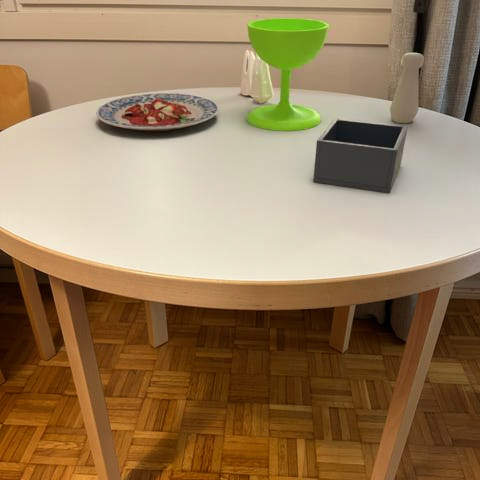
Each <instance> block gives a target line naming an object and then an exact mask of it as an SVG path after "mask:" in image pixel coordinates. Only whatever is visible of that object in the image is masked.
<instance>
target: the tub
mask: <svg viewBox="0 0 480 480" xmlns="http://www.w3.org/2000/svg"><path fill="white" fill-rule="evenodd" d="M408 128H409V127H408V126H407V125H398V124H389V123H380V122H371V121H361V120H352V119H343V118H334V119H333V120H332V121H331V123H330V124H329V125H328V126H327V127H326V129H325V130H324V131H323V132H322V134H321V135H320V136H319V137H318V139H317V140H316V147H315V157H314V169H313V181H312V182H313V183H318V184H325V185H332V186H339V187H344V188H345V187H346V188H352V189H359V190H365V191H373V192H380V193H385V194H386V193H387V194H391V191H392V189H393V186H394V183H395V181H396V179H397V176H398V173H399V171H398V170H400V168H401V166H400V165H402V160H403V155H404V148H405V144H406V138H407V133H408Z"/></svg>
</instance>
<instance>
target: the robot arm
mask: <svg viewBox="0 0 480 480" xmlns="http://www.w3.org/2000/svg"><path fill="white" fill-rule="evenodd" d="M431 1H432V0H414V3H413V9H412V11H413V13H414V14H415V13H417V14H424V13H426V10H427V8H429V7H430V5H431Z"/></svg>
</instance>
